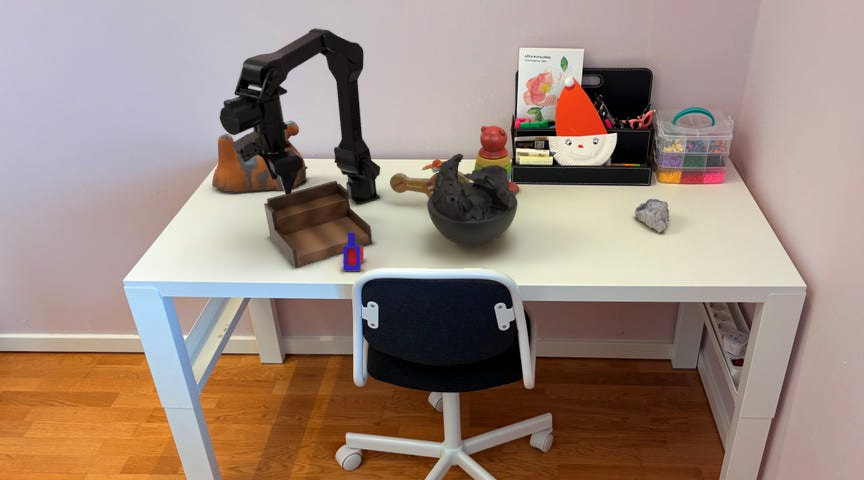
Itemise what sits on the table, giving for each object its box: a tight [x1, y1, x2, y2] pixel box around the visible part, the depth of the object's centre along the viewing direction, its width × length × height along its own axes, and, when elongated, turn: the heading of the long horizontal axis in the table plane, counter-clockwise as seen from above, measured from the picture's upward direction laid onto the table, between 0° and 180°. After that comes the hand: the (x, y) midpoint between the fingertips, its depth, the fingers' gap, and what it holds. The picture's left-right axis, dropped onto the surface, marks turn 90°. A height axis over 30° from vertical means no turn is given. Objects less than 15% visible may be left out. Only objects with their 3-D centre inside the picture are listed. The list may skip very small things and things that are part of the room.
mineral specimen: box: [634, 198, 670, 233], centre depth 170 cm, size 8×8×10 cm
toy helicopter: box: [389, 158, 471, 199], centre depth 178 cm, size 8×21×14 cm, turn 72°
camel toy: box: [211, 120, 309, 194], centre depth 190 cm, size 25×13×17 cm, turn 82°
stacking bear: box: [474, 125, 520, 195], centre depth 183 cm, size 11×10×18 cm
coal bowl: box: [426, 153, 518, 247], centre depth 162 cm, size 20×20×19 cm
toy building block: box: [342, 233, 364, 272], centre depth 158 cm, size 4×4×8 cm
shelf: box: [263, 180, 373, 269], centre depth 166 cm, size 19×16×10 cm
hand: (281, 186), depth 162 cm, fingers open, 9 cm apart
